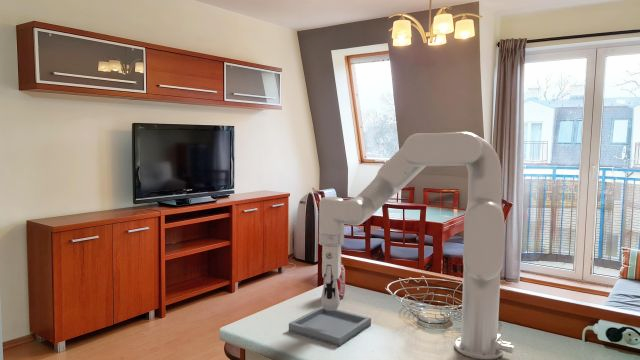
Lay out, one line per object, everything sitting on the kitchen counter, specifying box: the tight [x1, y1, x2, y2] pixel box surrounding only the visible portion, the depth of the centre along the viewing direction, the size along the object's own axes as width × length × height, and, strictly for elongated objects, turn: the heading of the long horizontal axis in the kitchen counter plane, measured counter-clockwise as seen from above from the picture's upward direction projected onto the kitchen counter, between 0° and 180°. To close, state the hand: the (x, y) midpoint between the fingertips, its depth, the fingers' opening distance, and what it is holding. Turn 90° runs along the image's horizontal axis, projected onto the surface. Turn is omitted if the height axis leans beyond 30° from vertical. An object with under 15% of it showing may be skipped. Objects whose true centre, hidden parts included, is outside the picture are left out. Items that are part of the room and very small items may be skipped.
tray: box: [288, 305, 372, 347], centre depth 144 cm, size 18×18×2 cm
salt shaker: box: [320, 276, 341, 311], centre depth 142 cm, size 6×6×13 cm
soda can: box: [337, 263, 346, 300], centre depth 171 cm, size 7×7×12 cm
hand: (330, 297), depth 143 cm, fingers closed on salt shaker, 3 cm apart
